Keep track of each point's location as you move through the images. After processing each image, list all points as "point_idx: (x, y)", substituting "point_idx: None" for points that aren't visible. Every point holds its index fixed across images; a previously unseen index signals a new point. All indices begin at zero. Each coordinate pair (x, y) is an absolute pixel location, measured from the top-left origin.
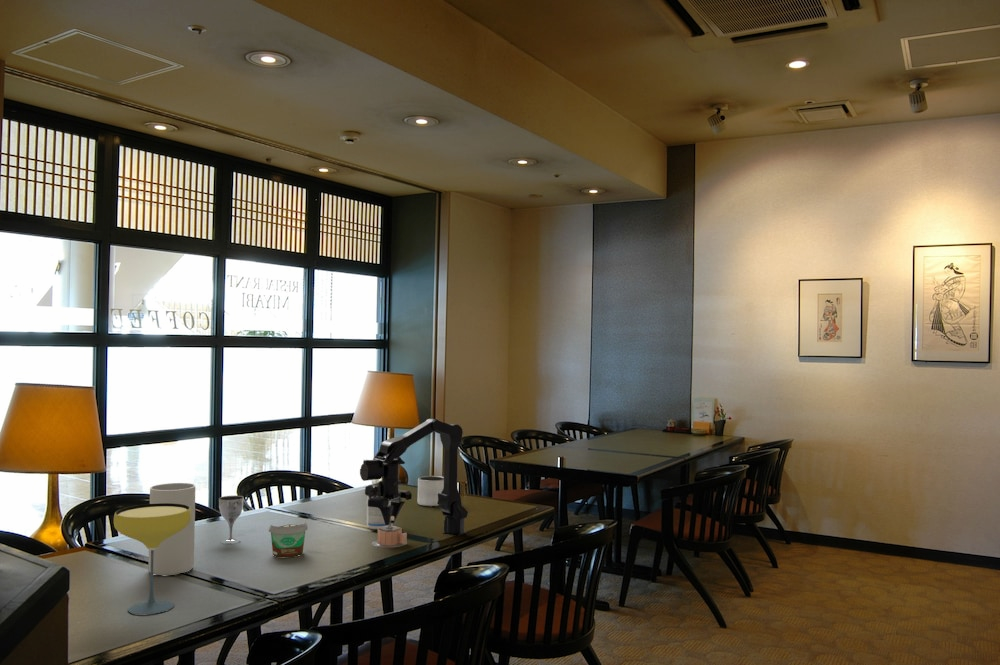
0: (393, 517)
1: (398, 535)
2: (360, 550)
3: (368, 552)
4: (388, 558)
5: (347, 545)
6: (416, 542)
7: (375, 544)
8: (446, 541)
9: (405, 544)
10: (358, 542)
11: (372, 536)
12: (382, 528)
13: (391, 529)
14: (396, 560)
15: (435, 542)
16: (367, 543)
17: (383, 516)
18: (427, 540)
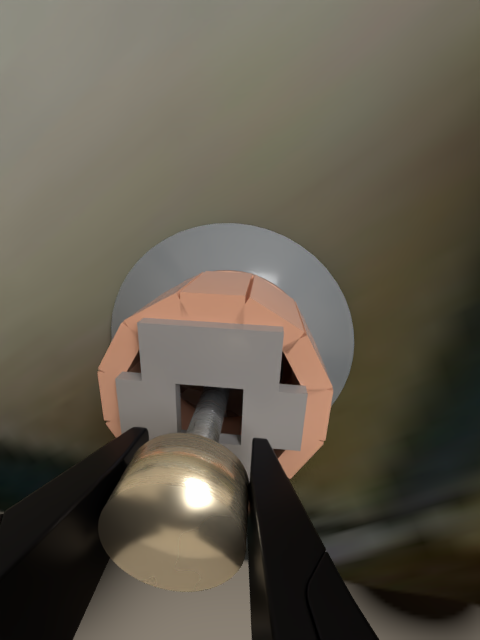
0: (175, 572)
1: None
2: (19, 249)
3: (19, 320)
4: (7, 459)
5: (56, 58)
6: (350, 456)
7: (147, 286)
8: (426, 569)
9: None
10: (180, 85)
11: (426, 64)
12: (151, 365)
13: None
14: (8, 497)
15: (386, 534)
16: (190, 181)
17: (20, 514)
18: (419, 490)
